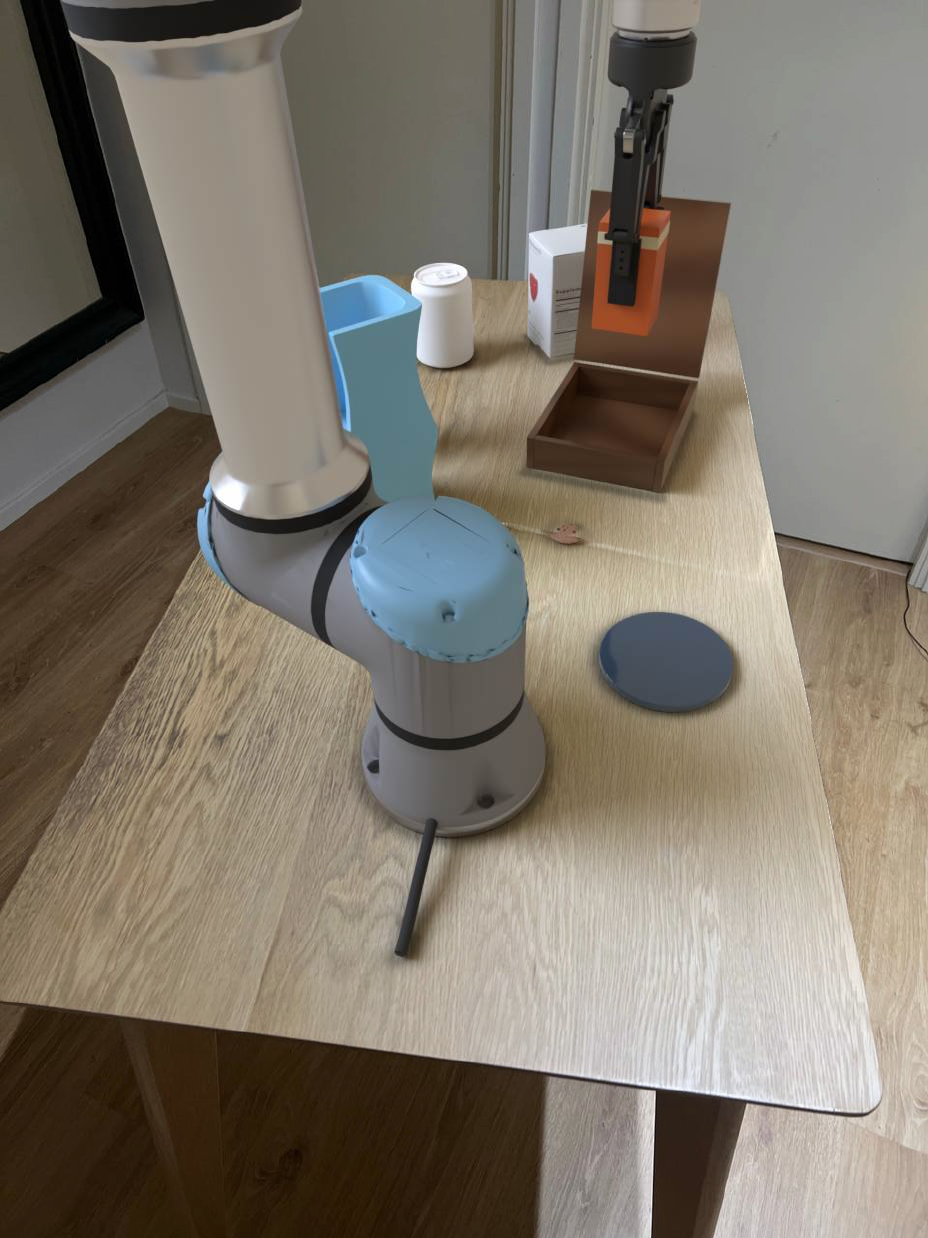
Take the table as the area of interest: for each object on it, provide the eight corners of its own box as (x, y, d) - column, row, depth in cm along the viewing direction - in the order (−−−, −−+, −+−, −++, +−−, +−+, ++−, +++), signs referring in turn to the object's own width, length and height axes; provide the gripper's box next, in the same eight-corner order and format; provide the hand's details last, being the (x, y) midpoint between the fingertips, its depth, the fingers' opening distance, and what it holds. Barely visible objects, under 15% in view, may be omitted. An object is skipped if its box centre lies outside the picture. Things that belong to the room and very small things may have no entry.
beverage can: (408, 351, 127) (400, 268, 119) (459, 339, 129) (455, 256, 121) (430, 376, 122) (424, 291, 113) (483, 362, 124) (481, 278, 116)
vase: (324, 512, 100) (285, 297, 83) (400, 483, 104) (378, 270, 86) (364, 558, 94) (332, 336, 77) (444, 525, 97) (429, 306, 80)
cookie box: (647, 336, 93) (660, 228, 85) (591, 328, 95) (598, 221, 87) (658, 316, 96) (671, 210, 89) (603, 308, 98) (611, 204, 90)
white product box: (525, 335, 129) (526, 230, 119) (582, 325, 131) (588, 221, 121) (548, 364, 123) (551, 255, 113) (607, 352, 125) (616, 245, 114)
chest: (659, 499, 100) (664, 462, 96) (526, 473, 104) (526, 437, 101) (692, 415, 112) (698, 380, 109) (572, 395, 117) (574, 361, 113)
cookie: (552, 520, 97) (553, 513, 97) (589, 527, 96) (589, 519, 96) (543, 541, 95) (543, 534, 94) (580, 548, 94) (581, 541, 93)
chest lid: (730, 203, 97) (737, 196, 101) (590, 189, 102) (602, 183, 106) (698, 378, 108) (705, 365, 112) (573, 359, 113) (584, 347, 117)
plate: (718, 727, 76) (720, 721, 75) (583, 691, 79) (583, 685, 79) (741, 634, 84) (743, 628, 83) (617, 605, 87) (618, 599, 87)
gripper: (675, 54, 70) (643, 334, 86) (716, 12, 82) (681, 263, 98) (583, 50, 72) (568, 323, 88) (636, 9, 84) (614, 256, 100)
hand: (627, 291), depth 93 cm, fingers closed on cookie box, 5 cm apart
